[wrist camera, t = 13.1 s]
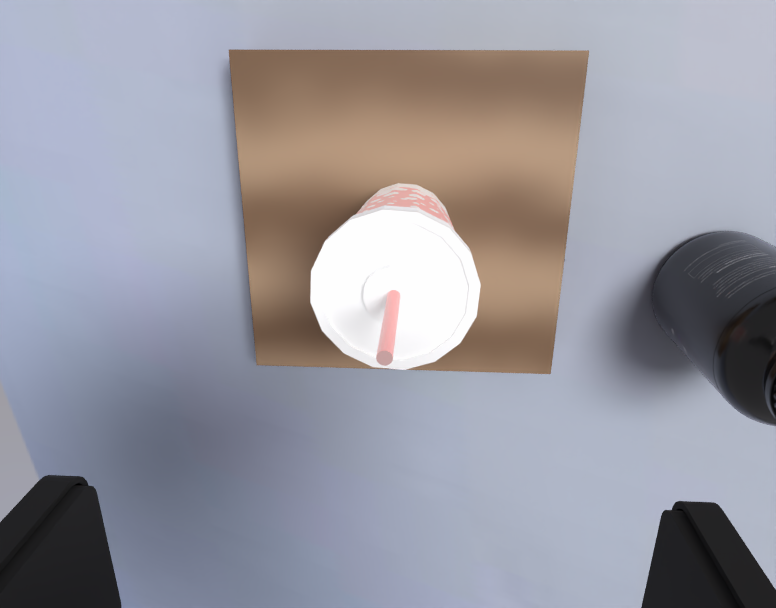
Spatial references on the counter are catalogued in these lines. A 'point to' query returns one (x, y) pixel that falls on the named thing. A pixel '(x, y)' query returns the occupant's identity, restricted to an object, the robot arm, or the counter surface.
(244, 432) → the counter surface
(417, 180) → the walnut base
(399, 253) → the beverage cup
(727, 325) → the supplement bottle
